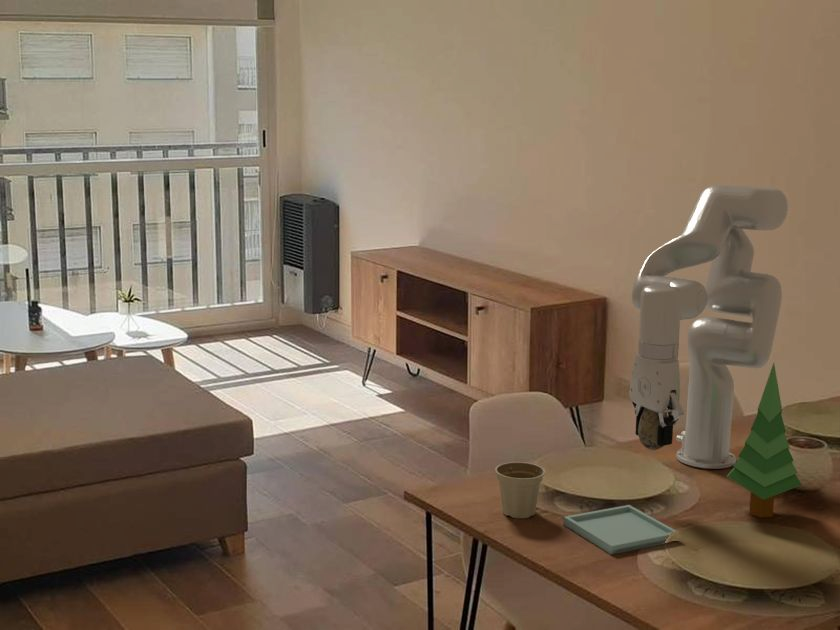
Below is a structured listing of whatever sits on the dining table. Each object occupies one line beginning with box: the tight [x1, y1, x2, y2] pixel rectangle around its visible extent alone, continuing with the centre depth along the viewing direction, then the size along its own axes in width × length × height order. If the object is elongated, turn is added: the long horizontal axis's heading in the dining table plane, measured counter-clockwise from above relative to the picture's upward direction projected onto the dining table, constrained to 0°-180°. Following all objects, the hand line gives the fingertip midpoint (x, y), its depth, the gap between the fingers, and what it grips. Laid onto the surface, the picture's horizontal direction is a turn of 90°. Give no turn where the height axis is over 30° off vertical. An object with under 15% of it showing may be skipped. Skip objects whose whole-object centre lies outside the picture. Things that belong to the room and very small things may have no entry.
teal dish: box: [562, 504, 677, 556], centre depth 216 cm, size 15×15×2 cm
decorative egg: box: [637, 408, 668, 451], centre depth 228 cm, size 6×6×10 cm
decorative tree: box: [726, 362, 803, 518], centre depth 224 cm, size 14×16×30 cm
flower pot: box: [494, 461, 546, 519], centre depth 224 cm, size 9×9×9 cm
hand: (653, 438), depth 229 cm, fingers closed on decorative egg, 6 cm apart
